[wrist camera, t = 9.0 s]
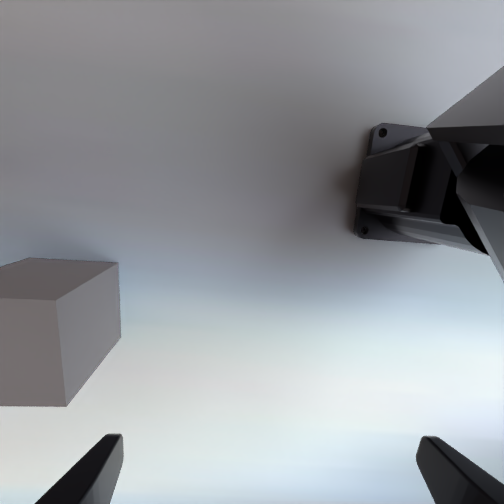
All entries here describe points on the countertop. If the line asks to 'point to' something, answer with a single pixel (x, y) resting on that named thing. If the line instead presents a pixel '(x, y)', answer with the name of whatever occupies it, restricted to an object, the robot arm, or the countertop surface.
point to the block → (55, 327)
